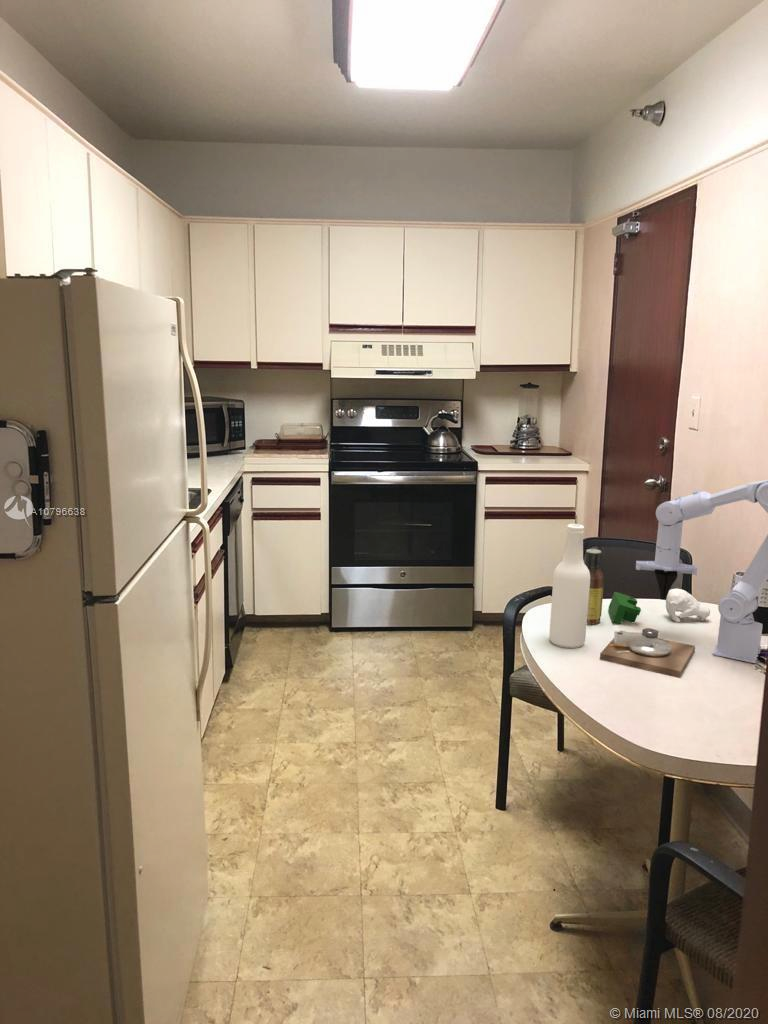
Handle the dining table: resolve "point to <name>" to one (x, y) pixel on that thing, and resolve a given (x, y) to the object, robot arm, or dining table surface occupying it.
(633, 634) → the dial
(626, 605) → the clamp
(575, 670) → the dining table surface
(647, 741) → the dining table surface
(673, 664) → the dial plate
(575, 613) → the white bottle
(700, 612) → the white lumpy piece
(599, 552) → the sauce bottle
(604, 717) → the dining table surface
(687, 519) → the robot arm
